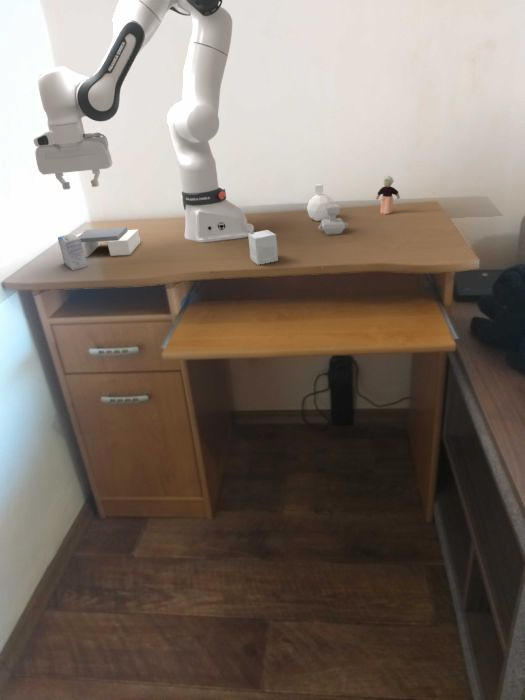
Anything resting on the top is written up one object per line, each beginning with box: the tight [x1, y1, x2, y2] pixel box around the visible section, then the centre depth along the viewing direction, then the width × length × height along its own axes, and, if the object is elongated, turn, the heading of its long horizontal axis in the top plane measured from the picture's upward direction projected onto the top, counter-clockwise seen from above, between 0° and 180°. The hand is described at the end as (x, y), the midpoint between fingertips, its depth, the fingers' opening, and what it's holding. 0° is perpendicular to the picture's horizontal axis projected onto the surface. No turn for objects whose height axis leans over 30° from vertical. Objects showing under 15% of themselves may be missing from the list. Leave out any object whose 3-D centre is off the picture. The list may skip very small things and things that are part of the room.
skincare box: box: [247, 229, 279, 266], centre depth 141 cm, size 6×6×7 cm
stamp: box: [317, 203, 348, 236], centre depth 159 cm, size 9×7×8 cm
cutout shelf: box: [75, 226, 141, 258], centre depth 161 cm, size 19×12×6 cm, turn 87°
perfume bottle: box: [306, 183, 334, 222], centre depth 171 cm, size 9×9×12 cm
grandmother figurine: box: [375, 175, 401, 215], centre depth 172 cm, size 8×4×13 cm, turn 81°
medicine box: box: [57, 233, 88, 271], centre depth 150 cm, size 8×4×9 cm, turn 35°
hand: (81, 187), depth 149 cm, fingers open, 7 cm apart
